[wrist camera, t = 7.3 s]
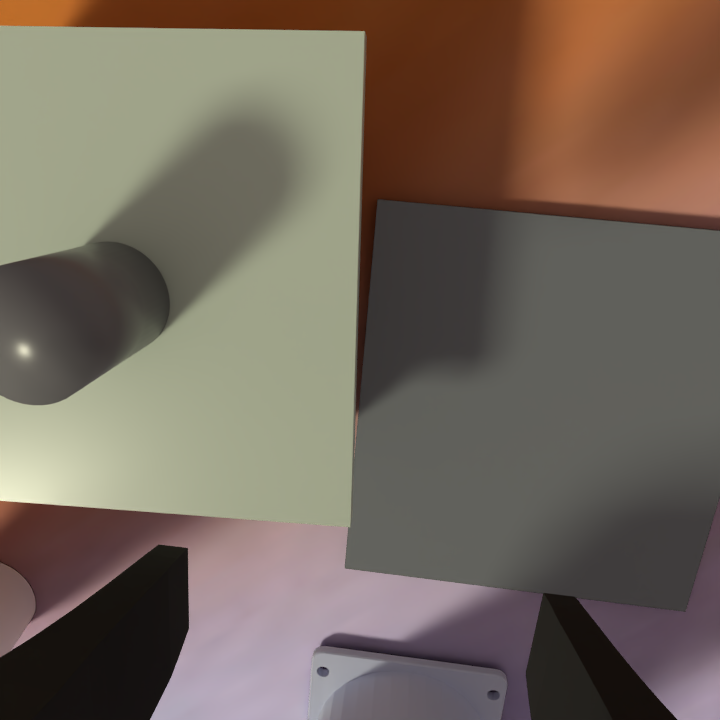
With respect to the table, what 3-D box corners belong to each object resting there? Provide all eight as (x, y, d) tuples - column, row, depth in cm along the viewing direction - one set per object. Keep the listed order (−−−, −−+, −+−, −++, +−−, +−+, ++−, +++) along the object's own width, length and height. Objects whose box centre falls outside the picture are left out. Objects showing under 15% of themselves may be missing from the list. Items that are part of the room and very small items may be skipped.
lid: (352, 516, 18) (332, 624, 14) (-55, 485, 19) (-192, 578, 15) (366, 36, 14) (344, -21, 10) (-145, 28, 15) (-368, -27, 11)
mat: (680, 604, 23) (685, 611, 23) (345, 561, 24) (344, 568, 24) (789, 236, 19) (797, 238, 19) (378, 199, 20) (377, 199, 20)
